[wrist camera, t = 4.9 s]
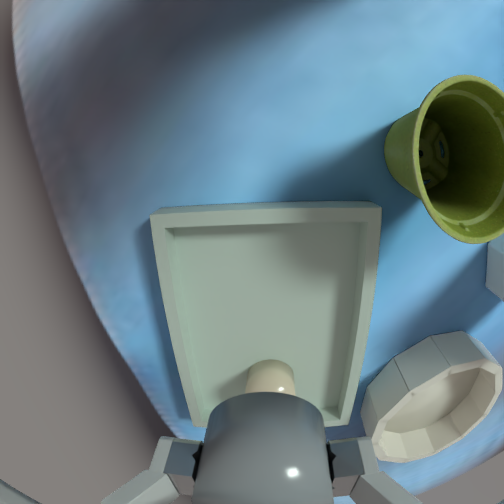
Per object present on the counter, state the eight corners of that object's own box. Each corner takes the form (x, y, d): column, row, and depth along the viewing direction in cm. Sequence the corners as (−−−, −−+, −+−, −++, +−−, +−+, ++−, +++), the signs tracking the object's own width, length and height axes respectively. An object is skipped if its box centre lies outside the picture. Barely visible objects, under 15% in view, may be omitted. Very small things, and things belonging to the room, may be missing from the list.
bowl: (376, 342, 26) (393, 376, 21) (498, 323, 25) (522, 347, 20) (351, 440, 31) (357, 471, 26) (456, 418, 30) (469, 443, 25)
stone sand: (245, 359, 26) (242, 386, 23) (294, 358, 26) (297, 385, 23) (248, 392, 28) (245, 419, 24) (293, 391, 28) (295, 418, 24)
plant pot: (347, 103, 19) (391, 80, 11) (448, 88, 18) (515, 74, 10) (376, 222, 22) (427, 263, 14) (469, 196, 21) (536, 222, 13)
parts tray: (161, 207, 23) (149, 214, 20) (370, 201, 22) (381, 207, 19) (198, 409, 30) (193, 426, 28) (344, 408, 29) (348, 424, 27)
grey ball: (200, 389, 10) (177, 476, 6) (330, 389, 9) (346, 479, 6) (215, 454, 11) (203, 522, 8) (317, 454, 11) (323, 524, 7)
